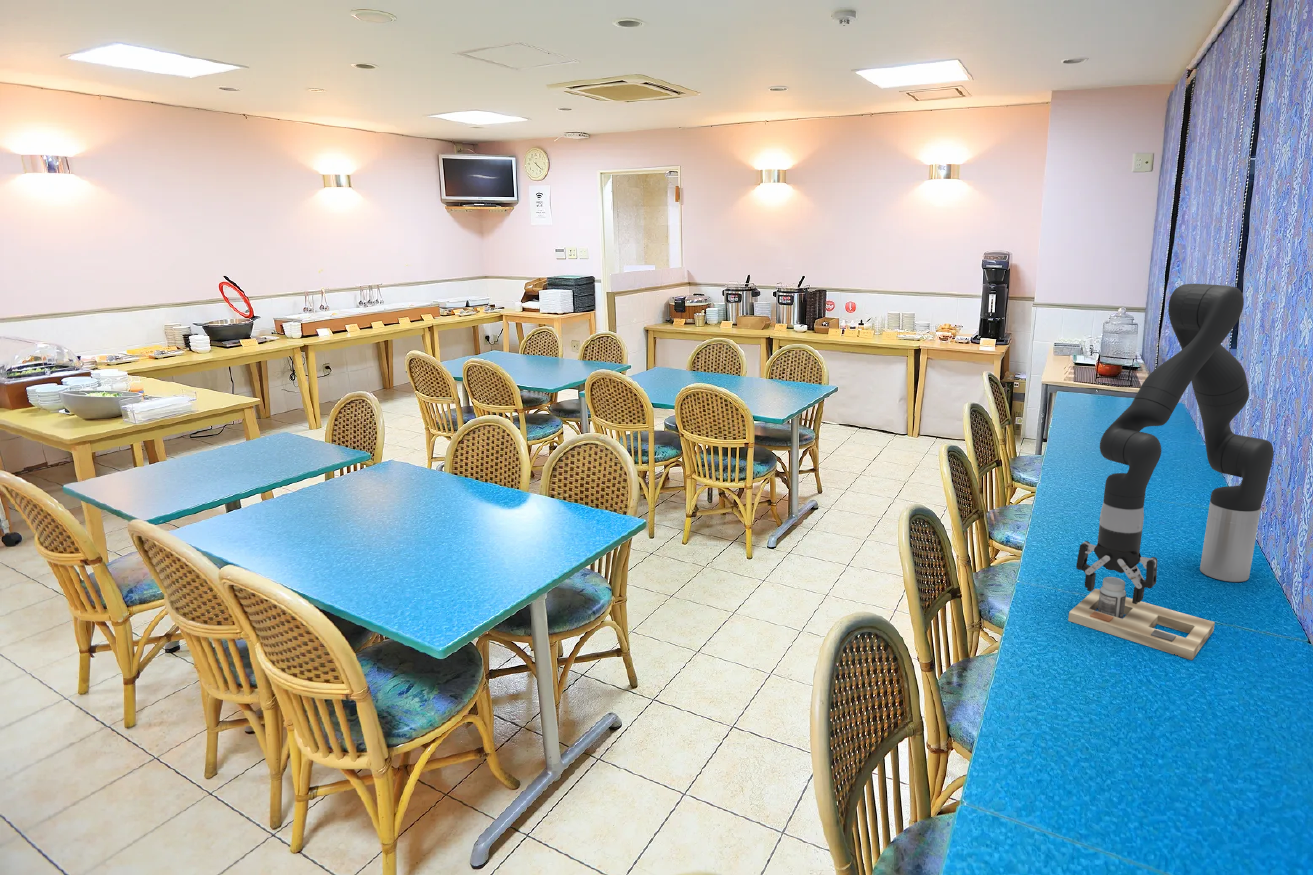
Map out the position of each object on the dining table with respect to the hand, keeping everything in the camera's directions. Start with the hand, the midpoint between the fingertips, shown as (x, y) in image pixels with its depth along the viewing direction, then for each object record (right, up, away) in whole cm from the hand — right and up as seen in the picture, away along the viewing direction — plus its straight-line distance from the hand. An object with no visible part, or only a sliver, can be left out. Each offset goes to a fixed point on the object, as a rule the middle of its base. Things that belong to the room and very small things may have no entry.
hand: (1112, 596), depth 157 cm
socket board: (+4, -6, -3) cm, 7 cm away
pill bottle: (0, -5, +1) cm, 5 cm away
